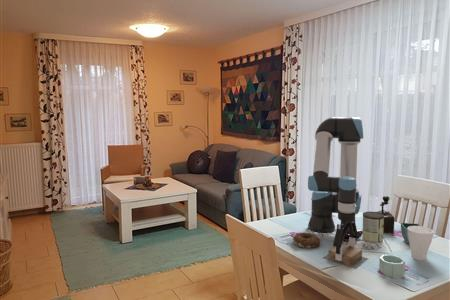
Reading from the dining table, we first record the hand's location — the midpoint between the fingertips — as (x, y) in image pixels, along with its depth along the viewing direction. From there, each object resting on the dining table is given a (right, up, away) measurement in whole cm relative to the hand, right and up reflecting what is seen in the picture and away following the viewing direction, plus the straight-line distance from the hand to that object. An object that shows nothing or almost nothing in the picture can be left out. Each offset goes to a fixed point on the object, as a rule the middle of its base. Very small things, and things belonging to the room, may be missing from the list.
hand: (345, 255), depth 157 cm
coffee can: (+22, +1, +23) cm, 32 cm away
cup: (+35, -2, +1) cm, 35 cm away
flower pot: (+41, +1, +19) cm, 45 cm away
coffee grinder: (+35, +3, +40) cm, 53 cm away
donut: (-13, 0, +18) cm, 22 cm away
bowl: (+15, -3, -13) cm, 20 cm away
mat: (0, -2, 0) cm, 2 cm away
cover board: (0, -1, 0) cm, 1 cm away
